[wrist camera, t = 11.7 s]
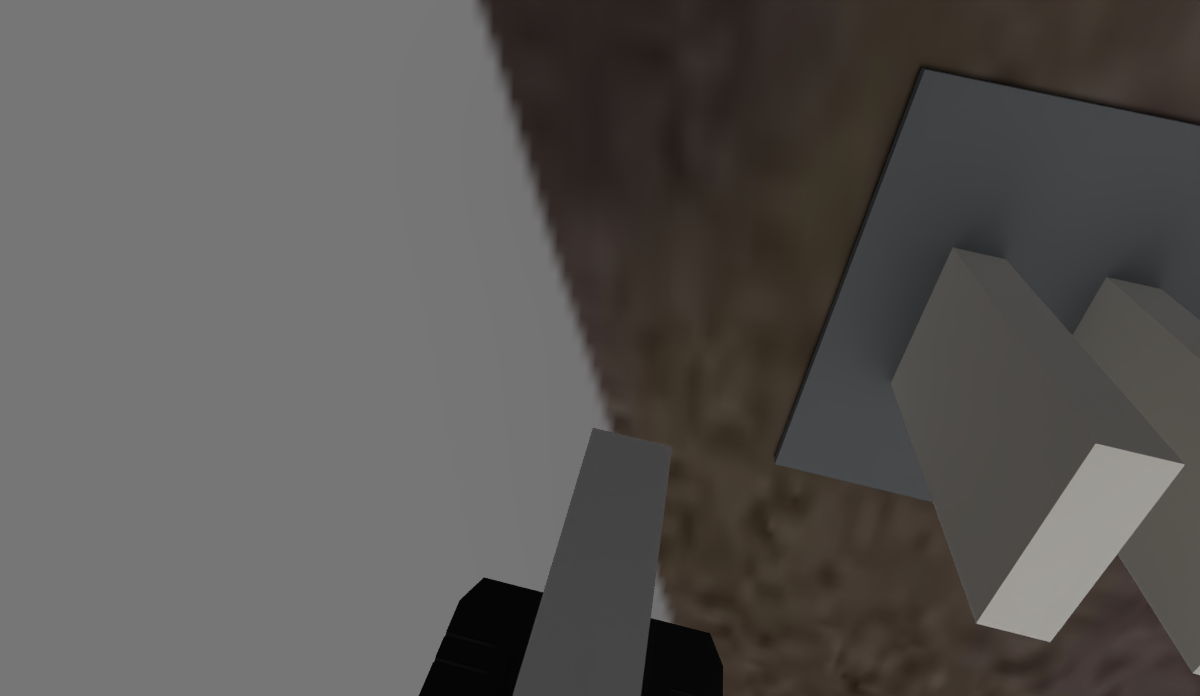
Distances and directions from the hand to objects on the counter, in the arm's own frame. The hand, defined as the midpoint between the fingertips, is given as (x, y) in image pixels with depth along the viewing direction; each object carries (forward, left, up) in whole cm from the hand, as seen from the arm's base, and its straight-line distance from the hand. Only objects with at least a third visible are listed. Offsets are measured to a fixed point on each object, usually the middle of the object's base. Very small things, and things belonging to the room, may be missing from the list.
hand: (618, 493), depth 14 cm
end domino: (0, +9, -11) cm, 14 cm away
